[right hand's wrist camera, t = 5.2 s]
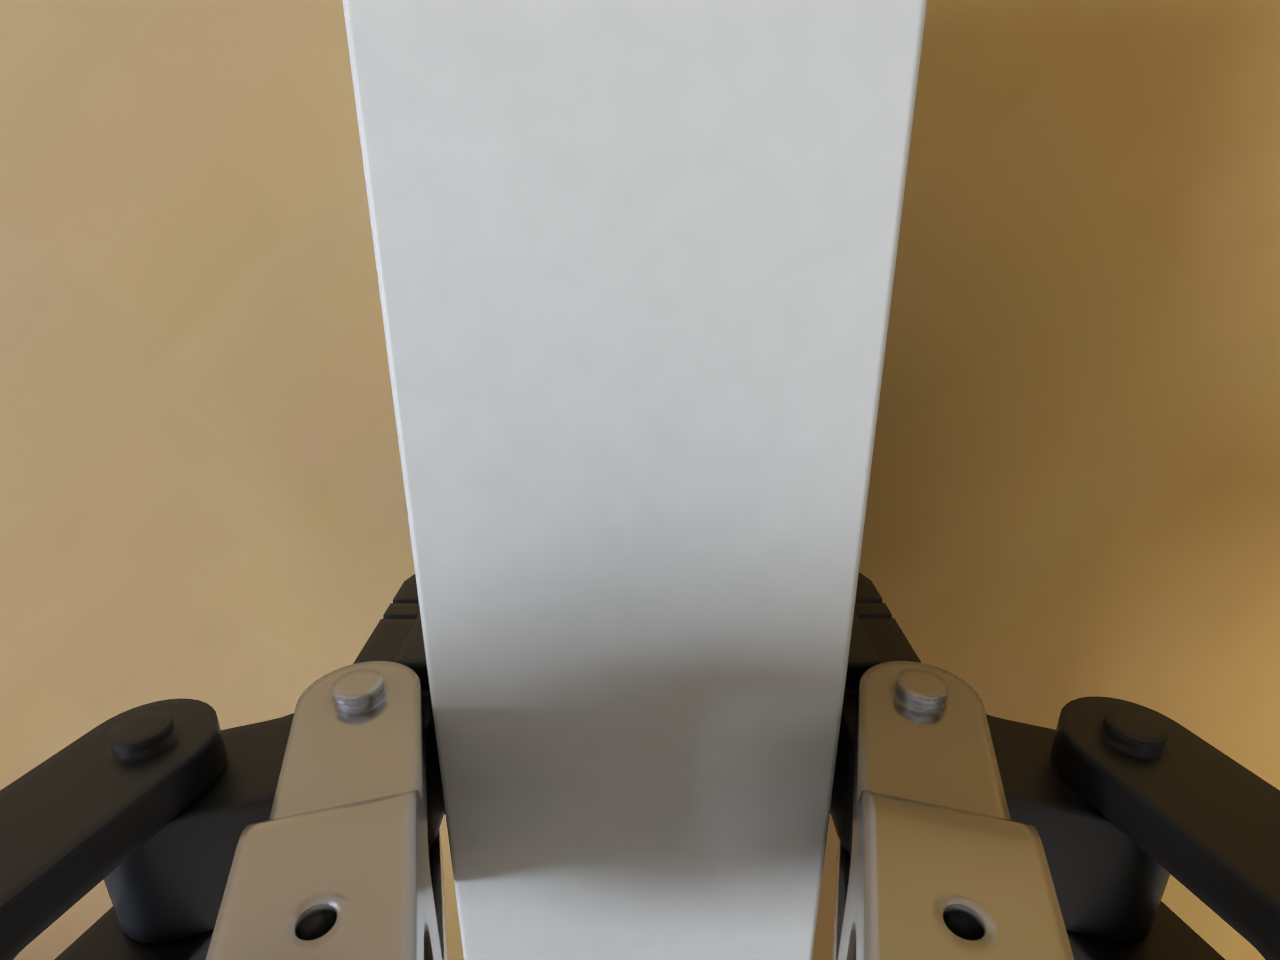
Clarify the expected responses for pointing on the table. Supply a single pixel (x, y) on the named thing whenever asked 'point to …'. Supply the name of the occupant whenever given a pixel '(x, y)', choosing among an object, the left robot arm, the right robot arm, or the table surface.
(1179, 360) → the table surface
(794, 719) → the bar
